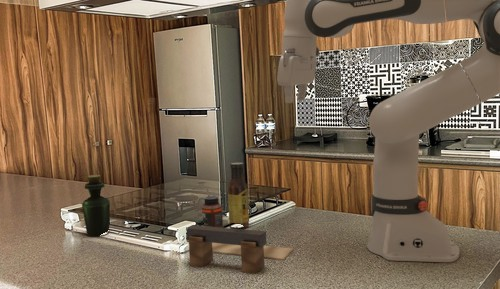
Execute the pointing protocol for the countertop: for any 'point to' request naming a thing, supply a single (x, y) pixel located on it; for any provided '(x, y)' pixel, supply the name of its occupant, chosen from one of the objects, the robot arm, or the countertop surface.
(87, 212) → the potion bottle
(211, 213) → the supplement bottle
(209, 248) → the post
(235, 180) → the sauce bottle
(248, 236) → the rail
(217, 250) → the wooden plank
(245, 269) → the post
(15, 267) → the countertop surface
